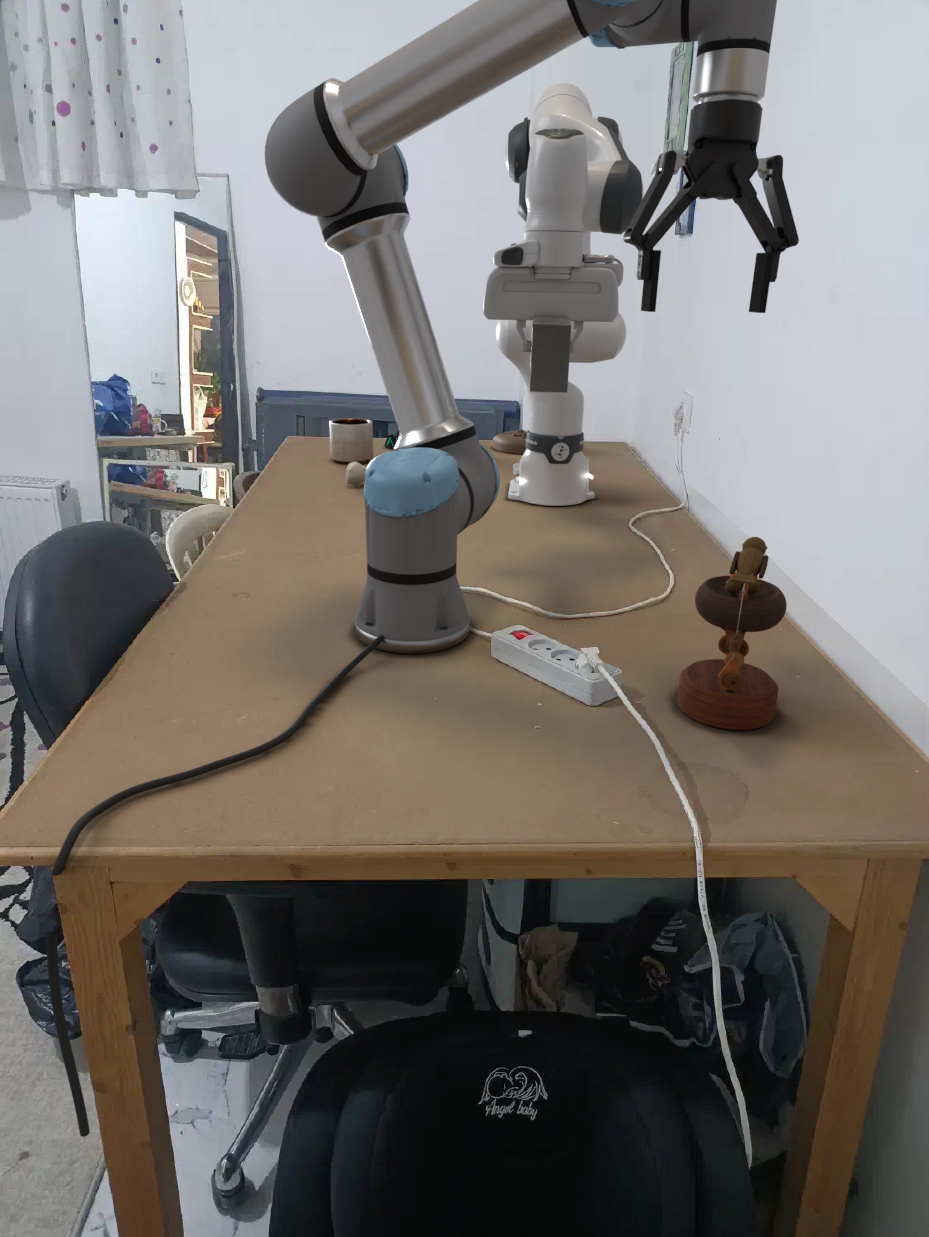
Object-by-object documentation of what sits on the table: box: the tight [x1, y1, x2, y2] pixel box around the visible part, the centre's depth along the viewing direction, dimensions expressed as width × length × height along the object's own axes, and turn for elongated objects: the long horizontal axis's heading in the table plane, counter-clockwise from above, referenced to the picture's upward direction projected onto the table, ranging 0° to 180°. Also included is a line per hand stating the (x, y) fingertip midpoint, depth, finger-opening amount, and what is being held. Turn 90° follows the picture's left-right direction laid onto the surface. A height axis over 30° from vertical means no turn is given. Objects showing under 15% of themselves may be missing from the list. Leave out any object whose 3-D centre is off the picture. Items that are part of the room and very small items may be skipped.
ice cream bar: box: [492, 428, 529, 455], centre depth 225 cm, size 21×28×4 cm
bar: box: [530, 316, 571, 393], centre depth 122 cm, size 23×5×9 cm, turn 175°
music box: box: [676, 536, 788, 731], centre depth 91 cm, size 15×11×20 cm
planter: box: [328, 417, 375, 464], centre depth 212 cm, size 11×11×10 cm
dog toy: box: [345, 462, 367, 486], centre depth 189 cm, size 20×6×5 cm, turn 99°
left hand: (702, 312), depth 100 cm, fingers open, 13 cm apart
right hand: (548, 352), depth 129 cm, fingers closed on bar, 5 cm apart
